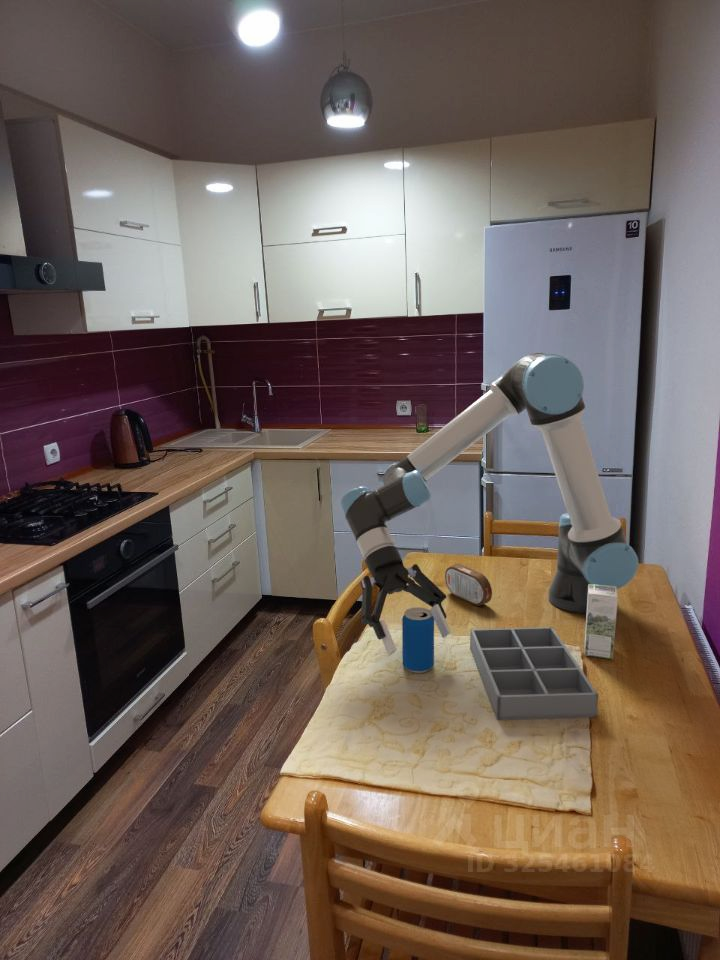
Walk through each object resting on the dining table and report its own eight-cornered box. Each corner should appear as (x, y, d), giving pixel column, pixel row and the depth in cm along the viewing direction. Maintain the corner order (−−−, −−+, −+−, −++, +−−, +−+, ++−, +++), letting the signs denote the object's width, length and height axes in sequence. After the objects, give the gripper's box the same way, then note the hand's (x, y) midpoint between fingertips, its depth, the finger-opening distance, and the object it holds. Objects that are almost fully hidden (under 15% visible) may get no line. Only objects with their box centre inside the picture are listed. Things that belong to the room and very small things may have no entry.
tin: (492, 608, 160) (493, 576, 158) (483, 611, 158) (484, 579, 156) (451, 589, 172) (452, 559, 170) (442, 591, 171) (443, 561, 169)
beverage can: (432, 676, 129) (432, 621, 127) (400, 673, 131) (400, 619, 128) (435, 660, 135) (435, 607, 133) (404, 657, 137) (404, 605, 134)
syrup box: (612, 647, 139) (616, 584, 136) (613, 660, 134) (618, 595, 130) (584, 643, 141) (588, 582, 138) (584, 656, 136) (588, 592, 132)
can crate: (551, 645, 140) (552, 627, 139) (596, 716, 115) (598, 694, 114) (470, 648, 140) (470, 629, 139) (497, 719, 114) (497, 697, 113)
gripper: (419, 550, 149) (460, 635, 140) (323, 572, 136) (361, 666, 127) (433, 534, 143) (476, 621, 134) (335, 555, 131) (375, 653, 122)
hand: (420, 643), depth 131 cm, fingers open, 13 cm apart
